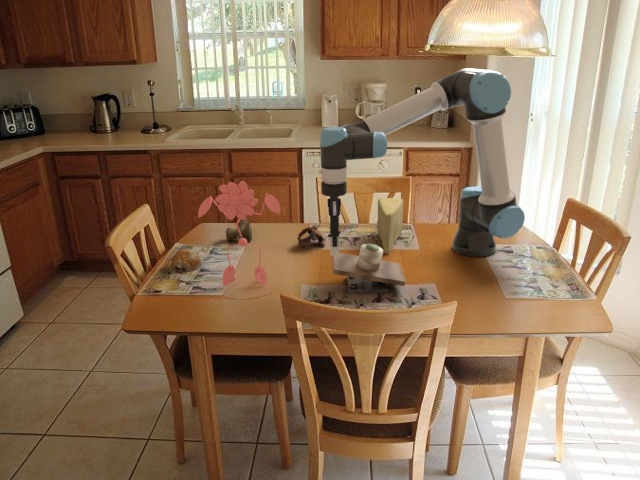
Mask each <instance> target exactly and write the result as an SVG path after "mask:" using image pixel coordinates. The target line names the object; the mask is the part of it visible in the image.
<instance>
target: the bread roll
mask: <svg viewBox="0 0 640 480" xmlns="http://www.w3.org/2000/svg"><path fill="white" fill-rule="evenodd" d="M170 264H171V265H170V266H171V268H172V269H173V270H174V271H176V272H179V273H181V272H184V273H185V272H190V271H191V272H192V271H195V270H196V269H198V268H200V267H201V265H202V260H201V256H200V255H199V254H198V252H196V251H195V250H193V249H192V248H191V249H190V248H184V249H181V250H179V251H178V252H176V253H175V254H174V256H173V257H172V259H171V263H170Z"/></svg>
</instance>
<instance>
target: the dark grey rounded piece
mask: <svg viewBox="0 0 640 480" xmlns="http://www.w3.org/2000/svg"><path fill="white" fill-rule="evenodd" d="M235 227H236V226H235ZM238 227H239V229H240V232H241V235H242V238H245V239H246V240H247V242H252V240H253V230H252V227H251V225H250V221H249V220H248V219H247V218H246V219H245V220H241V219H240V221H239V223H238ZM225 236H226V237H225V238H226V241H227V243H230V242H233V241H234V240H236V241H239V240H240V239H241V236H240V234H239V231H238V229H237V227H236V229H234V228H231V227H227V228H226V232H225Z"/></svg>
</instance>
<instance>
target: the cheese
mask: <svg viewBox="0 0 640 480" xmlns="http://www.w3.org/2000/svg"><path fill="white" fill-rule="evenodd" d="M403 212H404V200H403V199H402V198H398V197H397V198H396V197H380V198H378V200H377V224H376V225H377V228H376V229H377V234H378V237H379V239H380V240H381V244H382V245H381V246H382V249H383V254H385V255H390V253H391V251H392V250H393V247H394V246H395V243H396V242H397V240H398V238H399V237H400V236H401V234H402V230H403V219H404V217H403V216H404V213H403Z"/></svg>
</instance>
